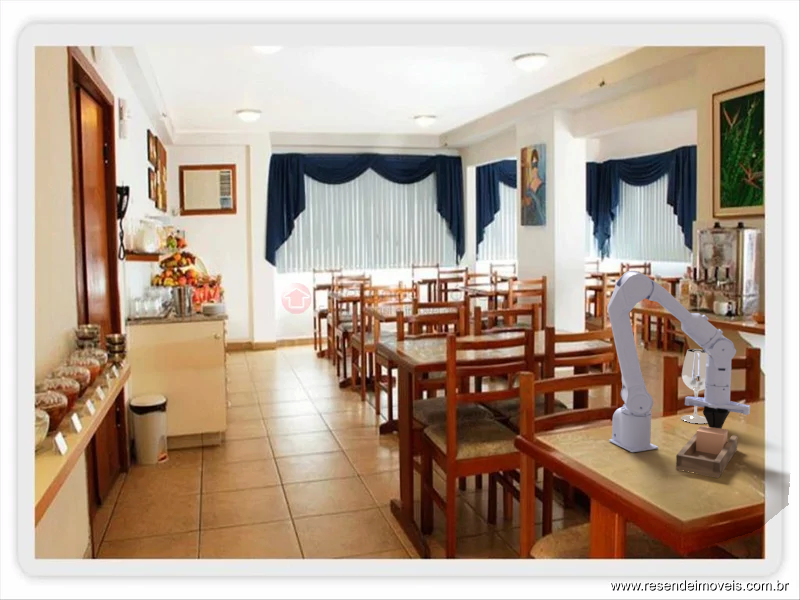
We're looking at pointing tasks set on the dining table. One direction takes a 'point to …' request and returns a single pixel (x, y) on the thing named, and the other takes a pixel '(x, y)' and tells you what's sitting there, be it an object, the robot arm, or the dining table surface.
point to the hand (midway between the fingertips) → (715, 437)
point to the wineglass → (694, 379)
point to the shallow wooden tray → (705, 458)
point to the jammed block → (711, 439)
